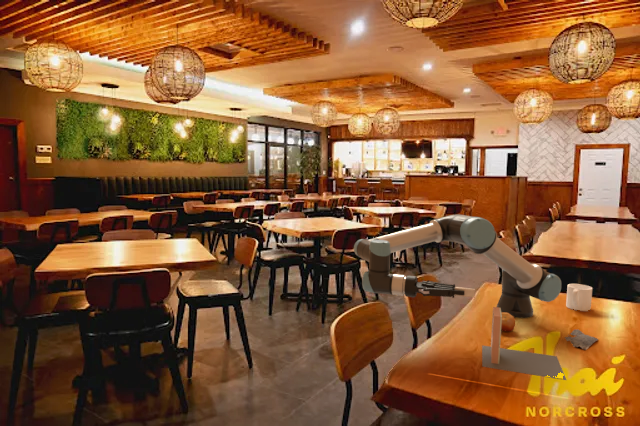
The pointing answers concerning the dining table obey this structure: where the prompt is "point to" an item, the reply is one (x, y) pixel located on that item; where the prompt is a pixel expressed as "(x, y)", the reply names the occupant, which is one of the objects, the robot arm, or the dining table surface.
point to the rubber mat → (523, 362)
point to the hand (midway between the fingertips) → (474, 293)
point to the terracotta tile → (496, 335)
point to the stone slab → (581, 339)
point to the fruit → (507, 322)
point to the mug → (579, 297)
